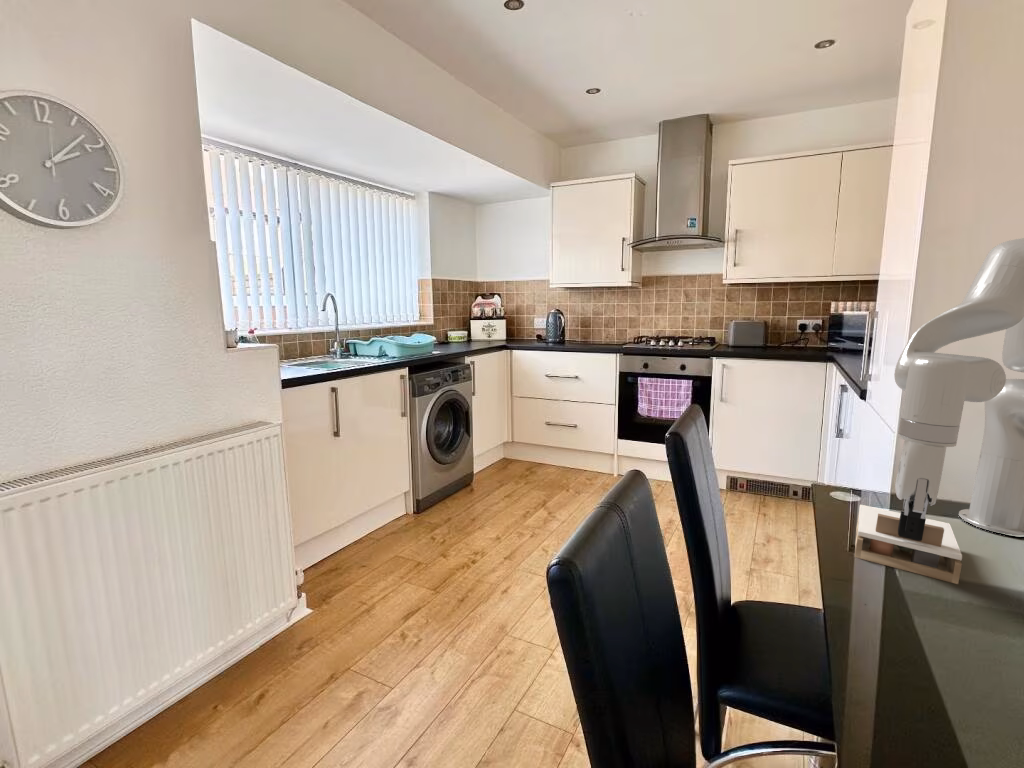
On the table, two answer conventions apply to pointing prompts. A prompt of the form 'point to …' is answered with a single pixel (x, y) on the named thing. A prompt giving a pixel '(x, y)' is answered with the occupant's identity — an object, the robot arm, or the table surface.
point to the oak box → (909, 561)
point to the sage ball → (905, 548)
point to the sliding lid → (885, 529)
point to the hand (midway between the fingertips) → (909, 536)
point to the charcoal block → (925, 558)
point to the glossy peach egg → (881, 547)
